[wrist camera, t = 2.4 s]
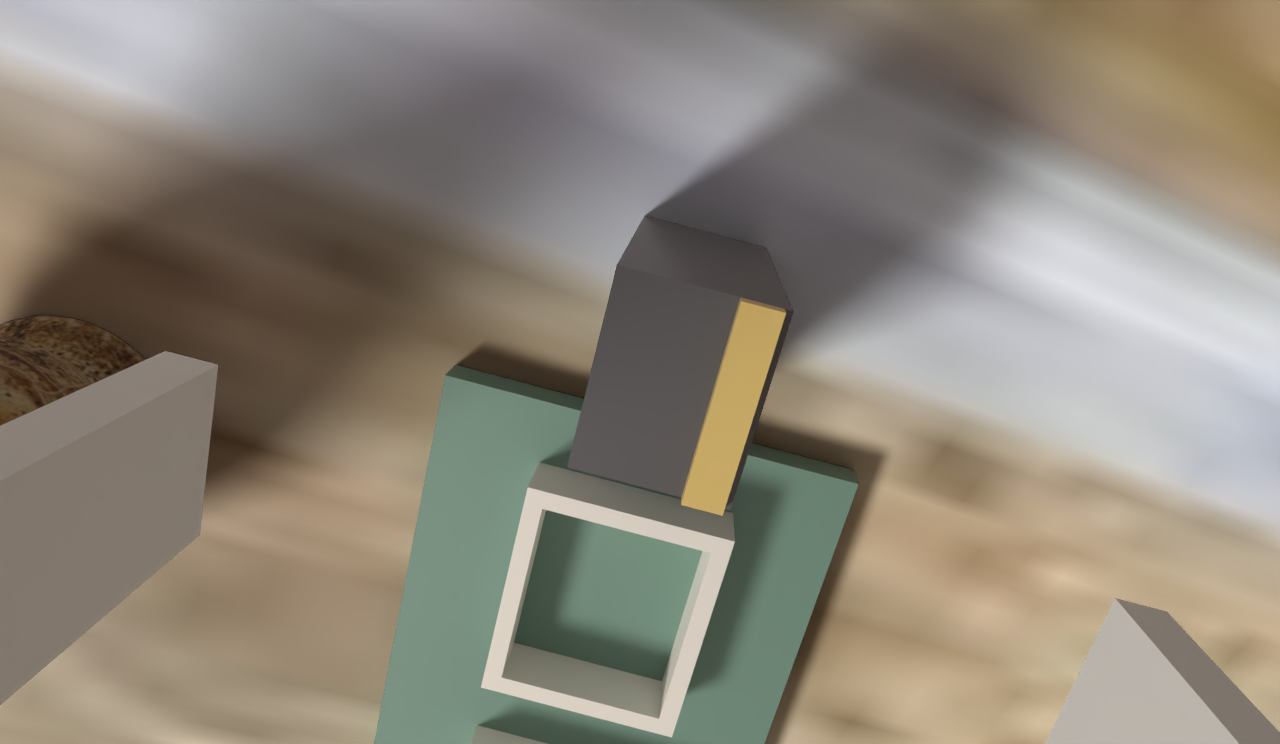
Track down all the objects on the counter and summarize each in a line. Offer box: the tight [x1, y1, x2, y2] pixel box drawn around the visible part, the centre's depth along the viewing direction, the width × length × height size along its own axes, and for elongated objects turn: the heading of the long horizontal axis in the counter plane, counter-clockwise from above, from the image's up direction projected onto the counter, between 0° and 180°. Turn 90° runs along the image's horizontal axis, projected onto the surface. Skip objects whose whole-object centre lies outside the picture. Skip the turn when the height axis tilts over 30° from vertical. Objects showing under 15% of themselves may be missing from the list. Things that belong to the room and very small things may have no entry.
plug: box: [567, 216, 793, 516], centre depth 24 cm, size 5×4×9 cm
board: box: [374, 365, 859, 744], centre depth 32 cm, size 24×14×3 cm, turn 166°
